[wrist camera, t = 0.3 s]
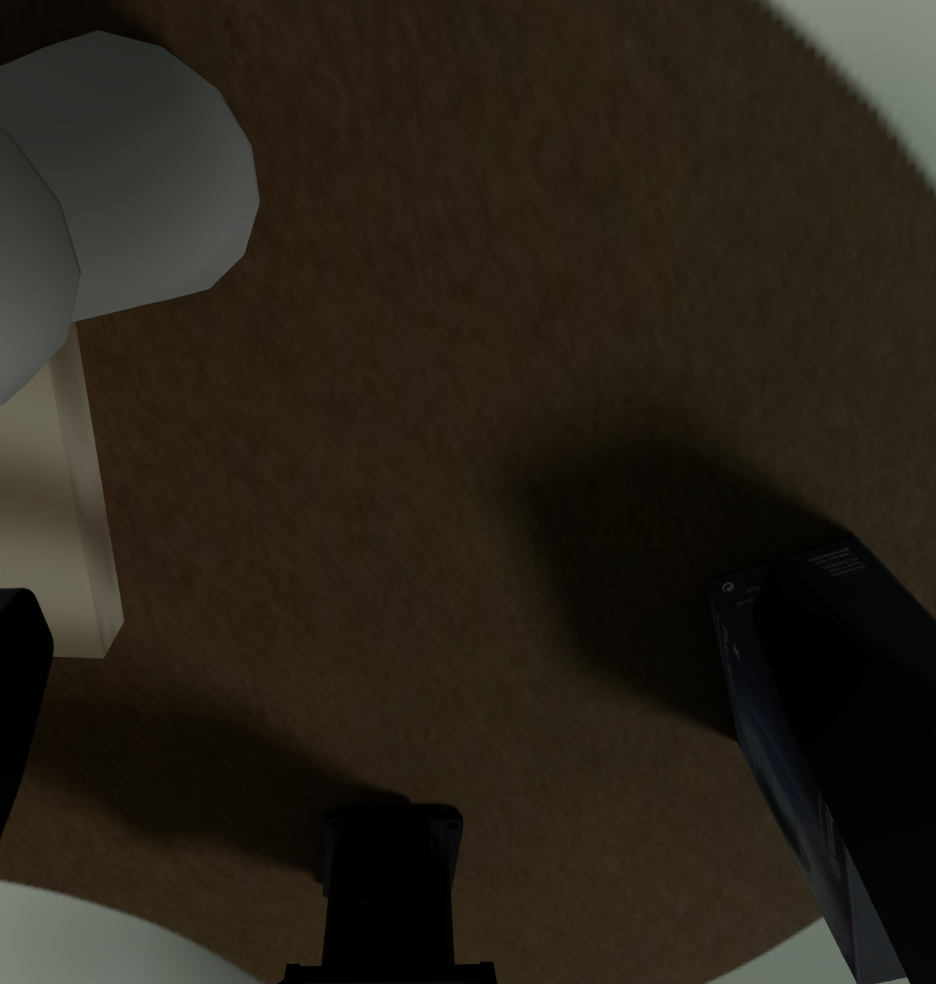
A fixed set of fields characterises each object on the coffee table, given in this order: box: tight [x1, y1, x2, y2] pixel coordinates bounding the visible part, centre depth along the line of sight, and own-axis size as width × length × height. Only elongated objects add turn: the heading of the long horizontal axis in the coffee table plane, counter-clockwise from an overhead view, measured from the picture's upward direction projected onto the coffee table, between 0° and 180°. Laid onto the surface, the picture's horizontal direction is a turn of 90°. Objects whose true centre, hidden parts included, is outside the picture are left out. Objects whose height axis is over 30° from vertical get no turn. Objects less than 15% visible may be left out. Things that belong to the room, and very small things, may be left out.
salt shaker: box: [0, 30, 260, 405], centre depth 13 cm, size 6×6×13 cm
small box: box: [707, 537, 936, 984], centre depth 25 cm, size 11×6×10 cm, turn 19°
